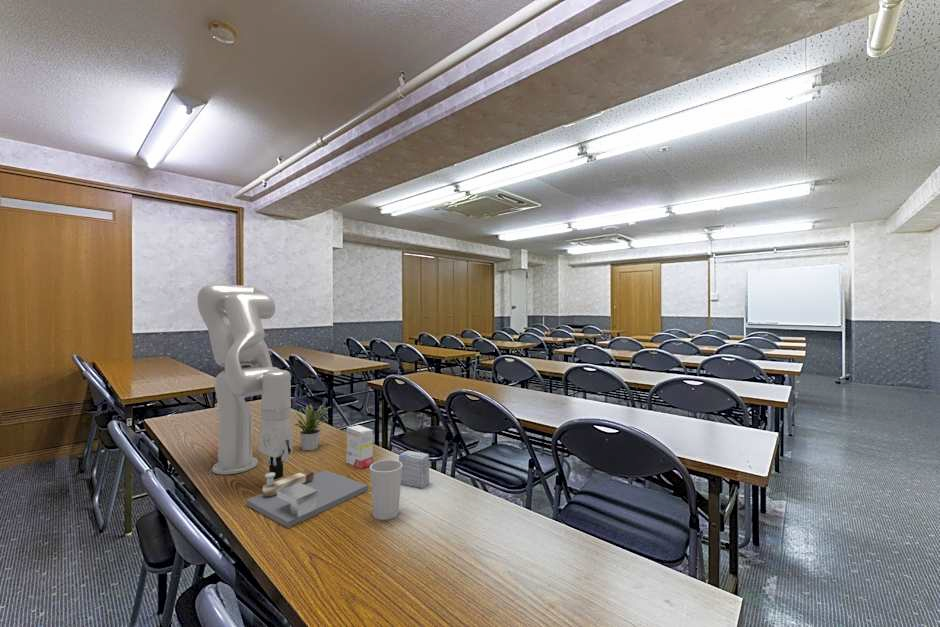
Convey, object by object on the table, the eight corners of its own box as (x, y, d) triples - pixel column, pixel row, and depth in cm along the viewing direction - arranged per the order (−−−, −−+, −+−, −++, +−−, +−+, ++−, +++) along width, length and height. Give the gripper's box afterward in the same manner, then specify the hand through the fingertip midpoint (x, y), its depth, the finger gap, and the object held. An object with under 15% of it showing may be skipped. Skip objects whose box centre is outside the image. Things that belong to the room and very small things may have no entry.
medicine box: (429, 483, 119) (429, 453, 119) (421, 489, 115) (421, 458, 115) (407, 478, 122) (407, 449, 122) (398, 484, 118) (398, 454, 118)
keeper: (277, 508, 100) (277, 490, 100) (299, 499, 105) (299, 482, 105) (295, 518, 96) (296, 499, 96) (318, 508, 101) (318, 490, 101)
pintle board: (246, 505, 105) (246, 478, 105) (325, 474, 125) (325, 451, 125) (288, 528, 94) (288, 497, 94) (367, 490, 114) (367, 465, 114)
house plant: (342, 446, 150) (342, 403, 150) (309, 458, 138) (309, 410, 138) (317, 440, 157) (317, 398, 157) (284, 450, 146) (284, 405, 146)
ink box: (373, 465, 133) (373, 429, 133) (360, 469, 129) (361, 432, 129) (358, 458, 138) (358, 424, 138) (345, 462, 135) (345, 427, 134)
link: (267, 497, 105) (267, 489, 105) (259, 494, 107) (259, 486, 107) (314, 479, 116) (314, 472, 116) (306, 476, 118) (306, 469, 118)
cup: (407, 508, 104) (408, 462, 104) (391, 524, 96) (392, 473, 96) (380, 503, 106) (380, 458, 106) (363, 518, 99) (363, 469, 99)
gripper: (249, 412, 117) (249, 476, 117) (278, 420, 108) (278, 489, 108) (274, 407, 123) (274, 467, 123) (303, 414, 114) (303, 479, 115)
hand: (276, 477), depth 116 cm, fingers closed
